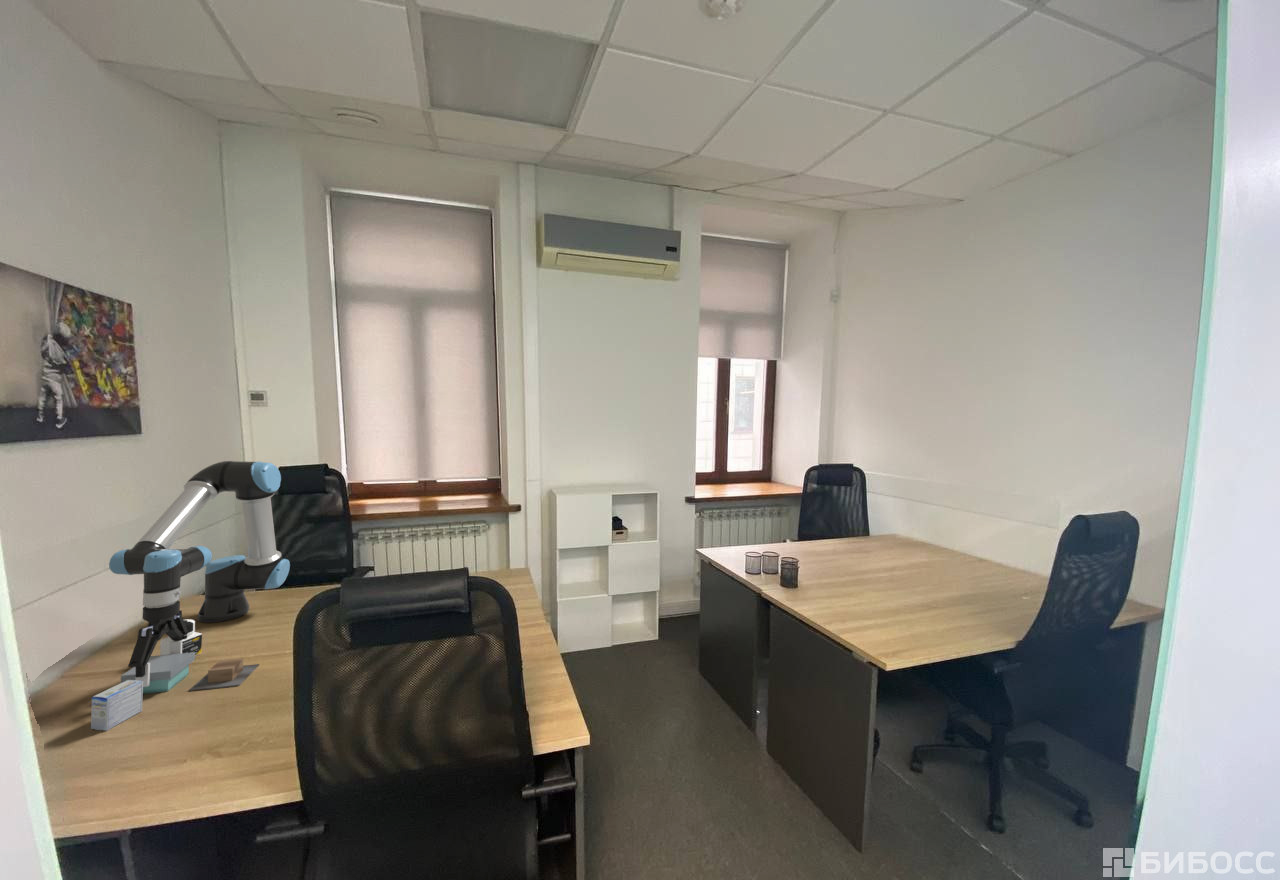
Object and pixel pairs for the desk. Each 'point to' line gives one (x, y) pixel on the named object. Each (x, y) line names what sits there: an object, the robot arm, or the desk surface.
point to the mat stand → (225, 675)
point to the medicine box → (116, 705)
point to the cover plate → (163, 666)
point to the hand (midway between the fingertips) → (159, 673)
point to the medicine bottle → (185, 641)
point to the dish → (166, 682)
